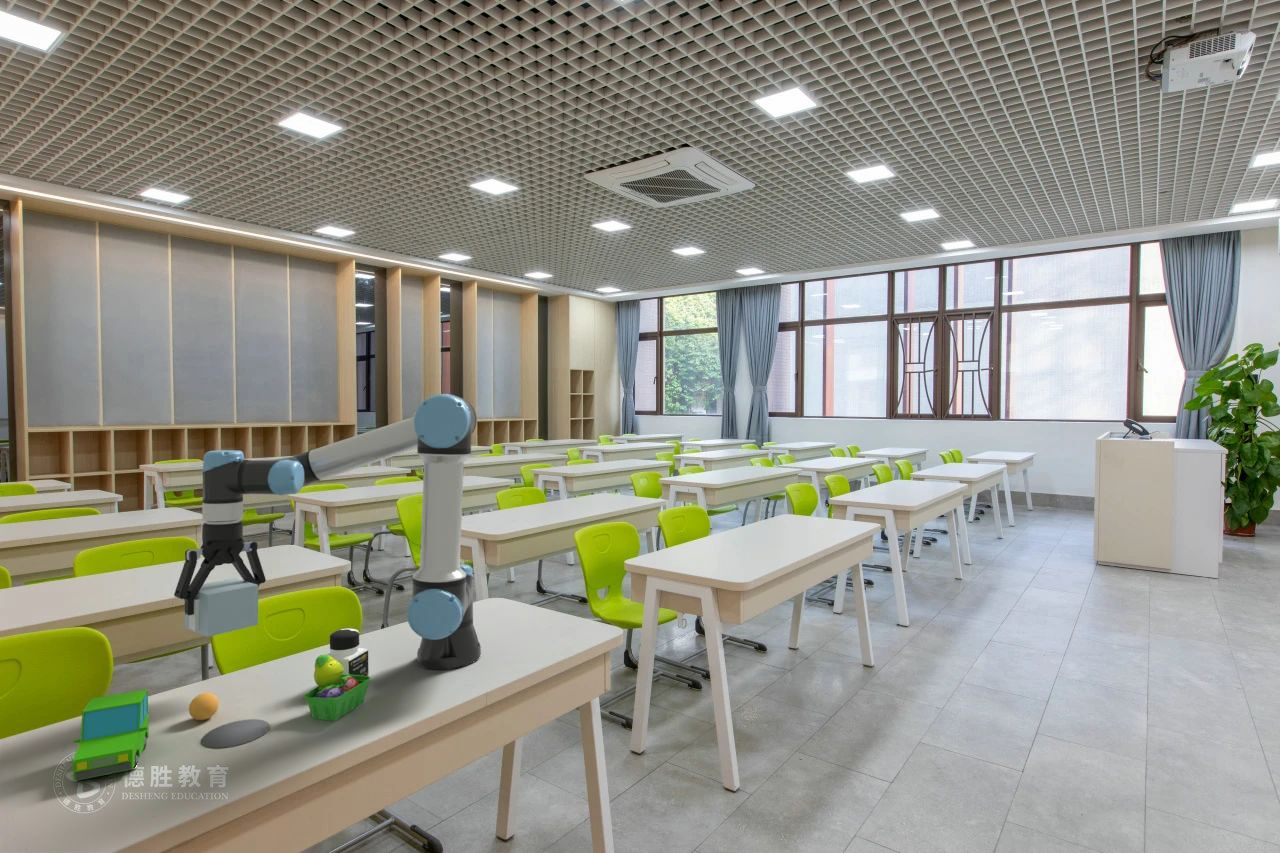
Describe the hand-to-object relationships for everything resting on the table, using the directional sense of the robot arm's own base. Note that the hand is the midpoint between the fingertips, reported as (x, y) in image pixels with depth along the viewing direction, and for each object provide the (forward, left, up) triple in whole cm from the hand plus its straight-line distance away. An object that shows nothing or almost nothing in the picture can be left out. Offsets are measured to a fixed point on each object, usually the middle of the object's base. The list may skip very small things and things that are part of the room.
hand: (221, 622), depth 145 cm
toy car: (-16, +26, -15) cm, 34 cm away
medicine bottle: (-20, -16, -15) cm, 30 cm away
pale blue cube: (0, 0, -1) cm, 1 cm away
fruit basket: (-30, -7, -15) cm, 34 cm away
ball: (-11, +9, -13) cm, 19 cm away
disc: (-23, +9, -15) cm, 29 cm away
